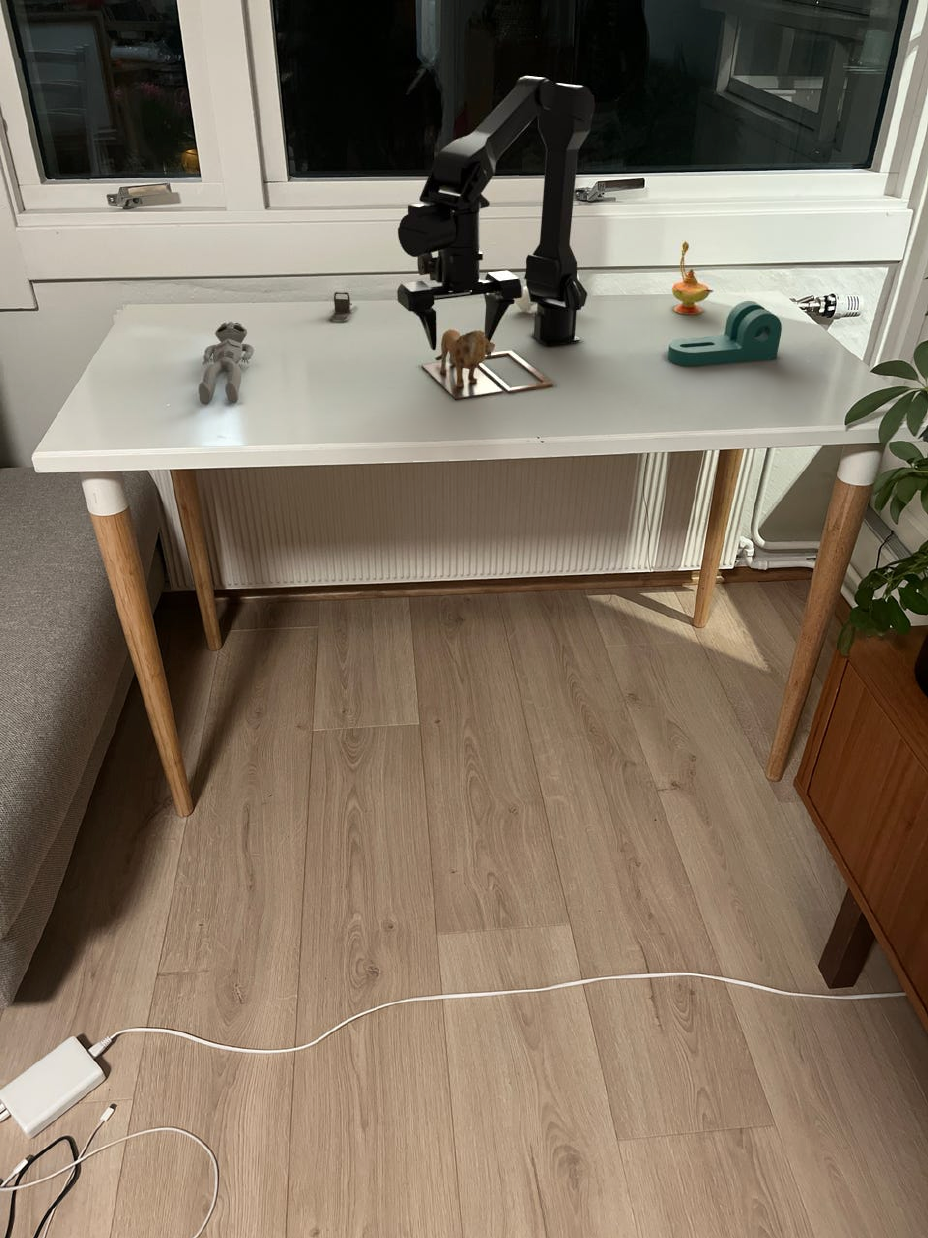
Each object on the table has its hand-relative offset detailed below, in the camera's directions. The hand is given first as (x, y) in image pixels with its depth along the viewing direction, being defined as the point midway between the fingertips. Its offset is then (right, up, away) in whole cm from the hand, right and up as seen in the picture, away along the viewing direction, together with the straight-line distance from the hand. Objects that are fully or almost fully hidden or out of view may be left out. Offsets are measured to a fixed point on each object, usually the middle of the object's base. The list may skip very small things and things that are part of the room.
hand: (460, 345), depth 152 cm
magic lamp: (+43, +15, +30) cm, 55 cm away
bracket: (+44, +2, +12) cm, 46 cm away
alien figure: (-38, -4, +5) cm, 38 cm away
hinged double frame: (+4, -3, +5) cm, 7 cm away
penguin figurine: (+16, +15, +31) cm, 38 cm away
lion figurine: (0, -4, +3) cm, 6 cm away
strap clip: (-22, +14, +29) cm, 39 cm away
